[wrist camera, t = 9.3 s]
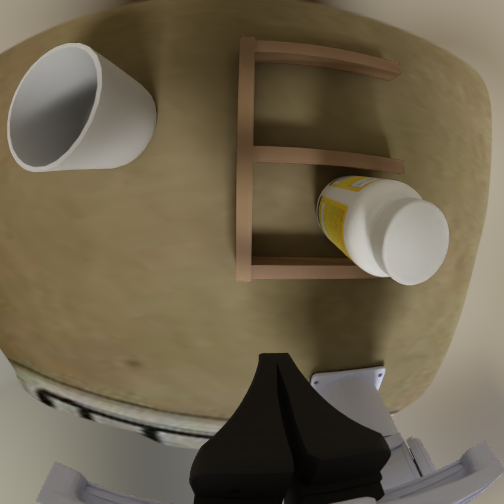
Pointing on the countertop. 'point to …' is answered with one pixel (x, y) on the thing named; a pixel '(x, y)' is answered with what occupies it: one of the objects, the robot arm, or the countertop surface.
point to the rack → (295, 155)
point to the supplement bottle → (384, 227)
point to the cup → (78, 113)
